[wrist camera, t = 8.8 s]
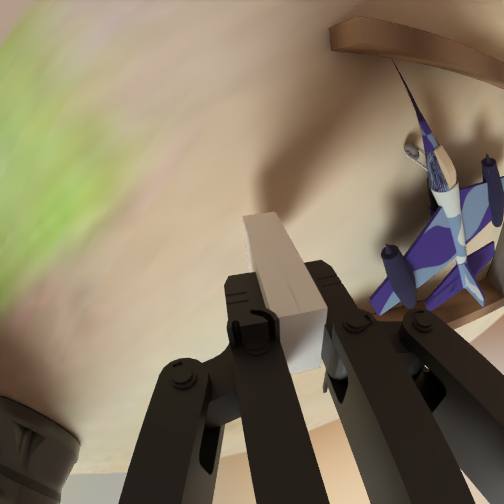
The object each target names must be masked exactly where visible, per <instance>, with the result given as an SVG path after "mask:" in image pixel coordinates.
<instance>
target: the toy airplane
mask: <svg viewBox="0 0 504 504" xmlns="http://www.w3.org/2000/svg"><path fill="white" fill-rule="evenodd" d="M391 59H392V58H391ZM392 61H393V60H392ZM394 64H395V63H394ZM395 66H396V65H395ZM396 68H397V67H396ZM397 70H398V69H397ZM398 72H399V70H398ZM399 74H400V72H399ZM400 77H401V79H402V81H403V83H404V85H405V87H406V89H407V92H408V94H409V96H410V98H411V101H412V103H413V106H414V108H415V110H416V114H417V118H418V121H419V125H420V129H421V132H422V137H423V143H424V150H425V151H423V150H422V149H421V148H419V147H418V146H414V145H413V144H412V143H406V144H405V146H404V149H405V152H406V154H405V155H406V156H407V157H408V158H410V159H411V160H412V161H414V162H415V163H416V164H418V165H419V166H420V167H422V168H423V169H424V170H426V171H427V172H428V178H427V184H428V191H429V197H430V202H431V205H430V207H429V211H430V214H431V217H432V218H431V219H430V220H429V222H428V223H427V225H426V226H425V228H424V229H423V230H422V232H421V233H420V235H419V236H418V237H417V239H416V240H415V242H414V243H413V244H412V246H411V247H410V248H409V250H408V251H407V252H406V254H405V255H404V256H403V255H402V254H401V252H400V250H399V248H398V247H397V246H396V245H387V244H386V247H385V248H384V249H383V250H382V252H381V257H382V259H383V262H384V266H385V270H386V273H387V278H386V279H385V280H384V281H383V283H382V284H381V285H380V286H379V287H378V289H377V290H376V291H375V292H374V293H373V295H372V296H371V297H370V298H369V301H370V303H371V305H372V306H373V308H374V310H375V312H376V313H377V315H379V316H380V315H382V314H383V313H385V312H386V311H388V310H389V309H390V308H392V307H393V306H395V305H396V304H397V303H399V302H400V301H401V302H402V303H403V305H404V306H405V307H406V308H408V309H412V308H414V307H415V306H416V303H417V291H416V289H417V288H419V287H420V286H421V285H422V284H424V283H425V282H426V281H428V280H429V279H430V278H431V277H432V276H434V275H435V274H436V273H437V272H439V271H440V270H441V269H442V268H443V267H445V266H446V265H447V264H448V263H449V262H451V261H452V260H455V261H456V265H455V267H454V268H453V269H452V270H451V272H450V273H449V274H448V275H447V276H446V277H445V279H444V280H443V281H442V282H441V283H440V284H439V285H438V287H437V288H436V289H435V290H434V291H433V292H432V293H431V294H430V295H429V297H428V298H427V299H426V300H425V301H424V303H425V306H426V309H427V310H429V311H433V310H434V309H436V308H437V307H438V306H440V305H441V304H443V303H444V302H446V301H447V300H449V299H450V298H451V297H453V296H454V295H456V294H457V293H458V292H460V291H461V290H462V289H467V290H468V292H469V293H470V294H471V295H472V296H473V297H474V298H475V299H476V300H477V301H478V302H479V303H480V305H481V306H482V307H484V306H485V295H484V293H483V291H482V289H481V288H480V286H479V284H478V282H477V280H476V279H475V277H476V275H477V274H478V273H479V272H480V271H481V270H482V269H483V268H484V267H485V265H486V264H487V263H488V262H489V261H490V260H491V259H492V257H493V256H494V255H495V250H494V242H493V241H492V242H490V243H489V244H487V245H485V246H484V247H482V248H480V249H479V250H477V251H475V252H473V253H472V254H470V255H468V256H467V254H466V244H467V243H468V242H469V241H470V240H471V239H472V238H474V237H475V236H476V235H477V234H478V233H479V232H480V231H481V230H482V229H483V228H484V227H485V226H486V225H487V224H488V223H489V222H490V221H491V220H492V223H493V225H494V226H495V227H500V226H501V224H502V221H503V214H504V176H502V177H500V175H499V172H498V169H497V165H496V161H495V160H494V159H493V158H489V156H488V155H487V154H486V158H485V159H483V160H482V162H481V164H482V174H483V182H481V183H477V184H474V185H470V186H467V187H463V188H460V189H459V185H458V178H457V176H456V171H455V167H454V165H453V163H452V161H451V159H450V158H449V156H448V154H447V153H446V151H445V149H444V148H443V146H442V145H439V143H438V141H437V140H436V138H435V136H434V135H433V133H432V132H431V130H430V128H429V126H428V124H427V122H426V121H425V119H424V117H423V115H422V114H421V112H420V110H419V109H418V107H417V105H416V103H415V100H414V98H413V96H412V94H411V93H410V91H409V89H408V87H407V85H406V83H405V81H404V79H403V77H402V76H401V74H400ZM418 150H419V151H421V152H422V153H424V154H425V156H426V163H427V168H426V167H425V166H423V165H422V164H420V163H419V162H418V161H416V160H418V159H419V152H418Z"/></svg>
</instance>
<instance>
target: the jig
mask: <svg viewBox="0 0 504 504" xmlns="http://www.w3.org/2000/svg"><path fill="white" fill-rule="evenodd" d="M329 32H330V41H331V51H343V52H354V53H363V54H371V55H378V56H385V57H391V58H397V59H402V60H408V61H412V62H417V63H422V64H426V65H430V66H434V67H438V68H442V69H446V70H449V71H453V72H456V73H460V74H463V75H466V76H469V77H472V78H475V79H478V80H481V81H484V82H487V83H489V84H492V85H495V86H497V87H500V88H502V89H504V63H503V62H501V61H499V60H497V59H495V58H493V57H490V56H488V55H486V54H484V53H482V52H480V51H477V50H475V49H473V48H470V47H468V46H465V45H463V44H460V43H458V42H455V41H452V40H450V39H447V38H444V37H441V36H438V35H435V34H432V33H429V32H426V31H422V30H419V29H415V28H412V27H408V26H404V25H400V24H396V23H392V22H387V21H383V20H378V19H373V18H367V17H361V16H357V17H355V18H352V19H350V20H347V21H345V22H342V23H340V24H338V25H335V26H333V27H331V28H329ZM478 284H479V286H480V288H481V289H482V291H483V293H484V295H485V306H484V307H482V306H481V305H480V303H479V302H478V301H477V300H476V299H475V298H474V297H473V296H472V295H471V294H470V293H469V292H468V290H467V289H462V290H461V291H460V292H458V293H457V294H456V295H454V296H453V297H451V298H450V299H449V300H447V301H446V302H444V303H443V304H441V305H440V306H438V307H437V308H436V309H434V310H433V311H431V312H432V313H434V314H436V315H437V316H438V317H439V318H440V319H441V320H443V321H444V322H445V323H446V324H447V325H449V326H450V327H451V328H452V329H453V330H454V329H456V328H458V327H461V326H463V325H465V324H467V323H470V322H472V321H474V320H476V319H478V318H480V317H482V316H484V315H487V314H489V313H491V312H493V311H495V310H497V309H498V308H500V307H502V306H504V223H503V227H502V231H501V234H500V238H499V241H498V245H497V248H496V251H495V255H494V257H493V260H492V263H491V266H490V269H489V272H488V274H487V277H486V279H485V280H482V281H479V282H478ZM424 301H425V300H423V301H420V302H417V303H416V306H415V307H414V308H412V309H425V310H427V309H426V306H425V303H424ZM412 309H408V308H406V307H405V306H403V307H400V308H396V309H393V310H389V311H386V312H385V313H383V314H382V315H380V316H379V315H377V314H374V315H372V316H373V317H374V318H375V319H376V320H377V321H402V320H403V317H404V315H405V314H406V313H407V312H408V311H409V310H412Z"/></svg>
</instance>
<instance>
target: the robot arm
mask: <svg viewBox="0 0 504 504" xmlns="http://www.w3.org/2000/svg"><path fill="white" fill-rule="evenodd" d="M242 219H243V228H244V236H245V245H246V254H247V262H248V269H249V273H244V274H238V275H232V276H228V278H227V280H226V282H225V284H224V289H225V297H226V305H227V313H228V322H227V333H228V337H229V345H228V346H227V348H226V349H225V351H223V352H222V353H221V354H220V355H218V356H216V357H215V358H213V359H210V360H208V361H206V362H203V363H201V362H200V361H198V360H196V359H192V358H180V359H177V360H174V361H172V362H170V363H169V364H168V365H166V366H165V367H164V368H163V370H162V371H161V373H160V375H159V377H158V380H157V383H156V386H155V389H154V392H153V395H152V398H151V401H150V403H149V406H148V409H147V412H146V415H145V418H144V421H143V424H142V428H141V431H140V434H139V437H138V440H137V443H136V446H135V449H134V453H133V456H132V459H131V462H130V466H129V469H128V472H127V476H126V479H125V482H124V486H123V489H122V493H121V496H120V500H119V504H212V501H213V494H214V489H215V483H216V476H217V470H218V464H219V458H220V452H221V446H222V440H223V434H224V428H225V424H226V423H228V422H231V421H233V420H235V419H237V418H239V417H241V419H242V425H243V431H244V437H245V443H246V449H247V455H248V460H249V466H250V472H251V477H252V482H253V488H254V493H255V498H256V503H257V504H330V503H329V500H328V496H327V493H326V490H325V487H324V483H323V480H322V477H321V473H320V470H319V467H318V463H317V460H316V457H315V453H314V450H313V447H312V444H311V441H310V437H309V434H308V430H307V427H306V424H305V421H304V417H303V414H302V411H301V407H300V404H299V401H298V398H297V394H296V391H295V388H294V384H293V381H292V378H291V375H290V374H294V373H299V372H303V371H307V370H312V369H316V368H320V367H321V359H322V360H323V362H324V365H325V367H326V372H325V378H324V383H323V393H325V392H327V388H329V391H330V393H331V396H332V399H333V401H334V404H335V407H336V409H337V412H338V415H339V417H340V420H341V423H342V425H343V428H344V431H345V433H346V436H347V438H348V441H349V444H350V447H351V450H352V452H353V455H354V458H355V461H356V463H357V466H358V469H359V472H360V475H361V477H362V480H363V483H364V486H365V488H366V491H367V494H368V497H369V500H370V503H371V504H475V502H474V499H473V497H472V494H471V492H470V490H469V488H468V485H467V483H466V481H465V479H464V476H463V474H462V472H461V470H462V471H463V472H464V473H465V475H466V476H467V477H468V478H469V479H470V480H471V481H472V483H473V484H474V485H475V486H476V487H477V489H478V490H479V491H480V492H481V493H482V495H483V496H484V497H485V498H486V499H487V501H488V502H489V503H490V504H504V375H503V374H502V373H501V372H500V371H498V369H496V368H495V367H494V366H493V365H492V364H491V363H490V362H489V361H488V360H487V359H486V358H485V357H484V356H483V355H481V354H480V353H479V352H478V351H477V350H476V349H475V348H474V347H473V346H471V345H470V344H469V343H468V342H467V341H466V340H465V339H464V338H462V337H461V336H460V335H459V334H458V333H457V332H456V331H454V330H453V329H452V328H451V327H450V326H449V325H447V324H446V323H445V322H444V321H443V320H441V319H440V318H439V317H438V316H437V315H436V314H434V313H432V312H431V311H429V310H425V309H412V310H409V311H408V312H407V313H406V314H405V315H404V317H403V320H402V321H377V320H376V319H375V318H374V317H373V316H372V315H371V314H370V313H368V312H366V311H364V310H361V309H358V307H357V306H356V304H355V302H354V301H353V299H352V298H351V296H350V294H349V293H348V291H347V290H346V288H345V287H344V285H343V284H342V283H341V280H340V279H339V277H337V274H336V273H335V271H334V270H333V268H332V267H331V266H330V265H328V264H327V263H325V262H324V261H322V260H318V261H312V262H306V263H304V262H303V261H302V259H301V257H300V255H299V253H298V251H297V250H296V248H295V246H294V244H293V242H292V241H291V239H290V237H289V235H288V233H287V232H286V230H285V228H284V226H283V225H282V223H281V221H280V219H279V217H278V216H277V214H276V212H268V213H261V214H254V215H247V216H242ZM425 365H426V366H427V367H428V368H429V369H427V368H426V367H425ZM79 449H80V444H79V442H78V441H77V440H76V439H75V438H74V437H73V436H72V435H71V434H70V433H69V432H67V431H66V430H65V429H63V428H62V427H60V426H59V425H57V424H56V423H54V422H52V421H51V420H49V419H47V418H46V417H44V416H42V415H40V414H39V413H37V412H35V411H33V410H31V409H29V408H27V407H25V406H23V405H21V404H18V403H16V402H14V401H11V400H9V399H6V398H3V397H0V504H60V500H61V490H62V487H63V485H64V484H65V482H66V480H67V478H68V476H69V474H70V472H71V470H72V468H73V466H74V464H75V463H76V462H77V460H78V456H79ZM460 469H461V470H460Z"/></svg>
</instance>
